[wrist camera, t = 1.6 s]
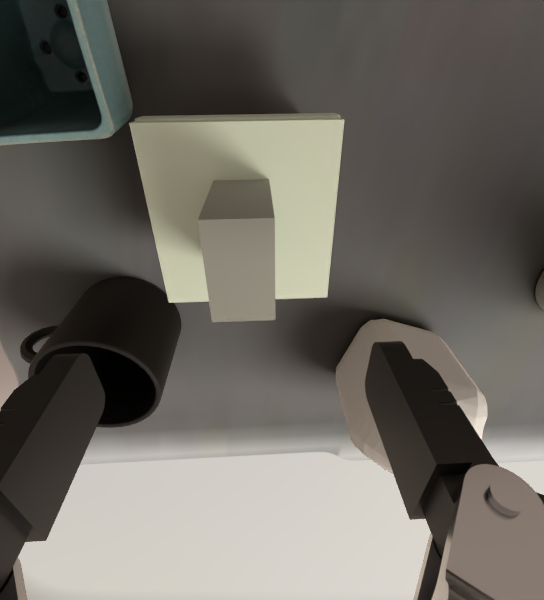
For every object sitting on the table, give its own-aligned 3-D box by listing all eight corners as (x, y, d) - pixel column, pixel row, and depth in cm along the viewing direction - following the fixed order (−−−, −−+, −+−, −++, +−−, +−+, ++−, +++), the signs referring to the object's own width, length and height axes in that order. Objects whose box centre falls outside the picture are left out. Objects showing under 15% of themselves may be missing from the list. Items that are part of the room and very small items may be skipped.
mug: (43, 264, 29) (-31, 330, 21) (183, 282, 31) (160, 349, 23) (61, 345, 34) (6, 421, 26) (180, 357, 36) (161, 432, 28)
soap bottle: (445, 328, 35) (671, 623, 16) (398, 388, 40) (527, 668, 21) (364, 306, 33) (514, 614, 14) (325, 372, 38) (396, 667, 19)
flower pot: (-39, -51, 18) (-241, -139, 11) (121, -62, 18) (30, -158, 11) (34, 128, 23) (-70, 151, 16) (161, 118, 23) (116, 138, 16)
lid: (336, 112, 19) (386, 134, 12) (322, 279, 25) (349, 361, 18) (140, 116, 18) (69, 139, 11) (174, 284, 24) (142, 369, 17)
